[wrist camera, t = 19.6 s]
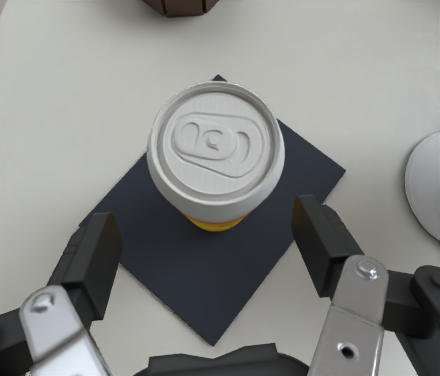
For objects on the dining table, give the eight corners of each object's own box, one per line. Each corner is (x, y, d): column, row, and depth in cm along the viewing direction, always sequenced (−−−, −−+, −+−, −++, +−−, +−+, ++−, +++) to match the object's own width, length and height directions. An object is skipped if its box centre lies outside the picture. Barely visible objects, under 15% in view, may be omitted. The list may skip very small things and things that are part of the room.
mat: (213, 345, 24) (213, 347, 23) (80, 225, 25) (78, 225, 25) (344, 171, 27) (346, 170, 26) (217, 76, 29) (217, 74, 28)
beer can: (240, 238, 25) (276, 232, 10) (175, 223, 25) (120, 196, 11) (254, 175, 26) (303, 89, 12) (192, 161, 26) (162, 58, 12)
